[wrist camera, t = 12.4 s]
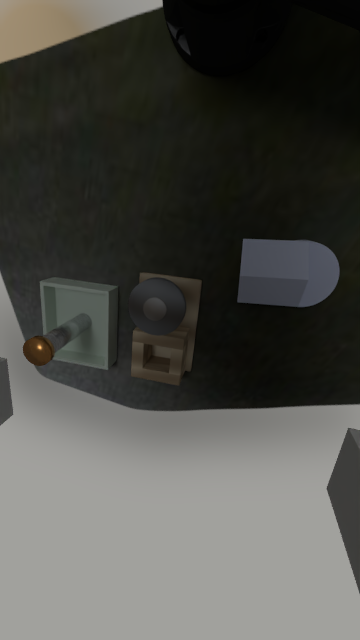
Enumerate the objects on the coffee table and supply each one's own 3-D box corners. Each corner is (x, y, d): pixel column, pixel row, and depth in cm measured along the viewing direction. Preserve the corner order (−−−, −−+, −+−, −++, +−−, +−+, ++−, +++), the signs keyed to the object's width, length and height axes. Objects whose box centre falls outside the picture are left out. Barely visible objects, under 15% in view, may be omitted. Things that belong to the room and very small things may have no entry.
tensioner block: (142, 265, 48) (120, 275, 39) (203, 273, 46) (193, 285, 38) (137, 358, 53) (117, 385, 45) (191, 368, 52) (181, 398, 43)
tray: (54, 277, 51) (39, 281, 48) (118, 286, 50) (108, 291, 46) (57, 349, 56) (45, 357, 53) (116, 360, 54) (107, 369, 51)
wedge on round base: (237, 296, 46) (325, 303, 44) (236, 308, 40) (339, 316, 38) (243, 237, 43) (337, 241, 41) (243, 240, 37) (355, 244, 35)
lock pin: (73, 308, 52) (21, 336, 39) (94, 312, 51) (48, 341, 39) (73, 329, 53) (24, 362, 41) (94, 333, 53) (50, 368, 40)
